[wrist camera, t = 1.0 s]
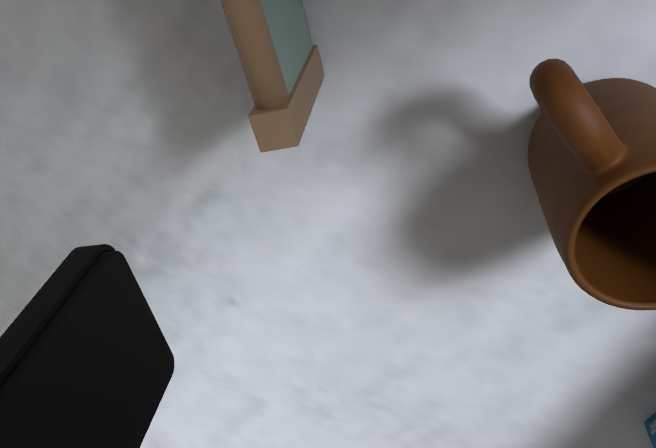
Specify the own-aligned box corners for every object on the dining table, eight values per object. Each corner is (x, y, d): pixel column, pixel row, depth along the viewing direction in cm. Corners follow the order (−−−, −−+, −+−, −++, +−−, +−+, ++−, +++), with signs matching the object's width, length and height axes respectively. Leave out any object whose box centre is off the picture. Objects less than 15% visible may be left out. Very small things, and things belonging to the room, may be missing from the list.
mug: (449, 69, 30) (463, 150, 22) (589, -35, 26) (664, 18, 18) (568, 224, 34) (615, 339, 26) (702, 152, 30) (802, 259, 23)
